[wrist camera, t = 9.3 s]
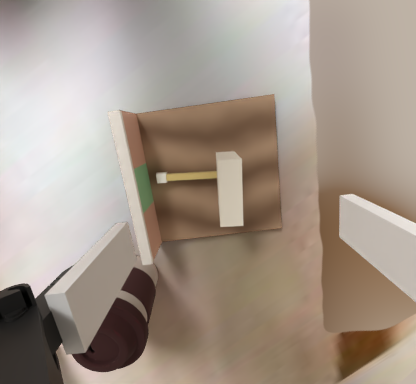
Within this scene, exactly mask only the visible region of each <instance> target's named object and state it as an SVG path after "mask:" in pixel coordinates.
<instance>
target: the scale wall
mask: <svg viewBox="0 0 416 384" xmlns="http://www.w3.org/2000/svg"><path fill="white" fill-rule="evenodd" d="M108 116H109V121H110V125H111V129H112V134H113V138H114V143H115V147H116V151H117V156H118V160H119V164H120V169H121V173H122V178H123V182H124V186H125V191H126V195H127V199H128V204H129V208H130V213H131V217H132V221H133V226H134V230H135V234H136V239H137V243H138V247H139V252H140V256H141V261H142V265H150V264H153V262H154V258H155V256H156V254H157V252H158V249H159V247H160V245H161V243H162V240H161V235H160V230H159V225H158V220H157V215H156V210H155V205H154V200H153V195H152V190H151V185H150V180H149V175H148V170H147V165H146V160H145V155H144V150H143V145H142V140H141V135H140V130H139V125H138V120H137V115H136V114H135V113H130V112H125V111H121V110H117V111H110V112H108Z"/></svg>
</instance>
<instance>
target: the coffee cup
mask: <svg viewBox="0 0 416 384" xmlns="http://www.w3.org/2000/svg"><path fill="white" fill-rule="evenodd" d="M136 258H137V261H136V263H135V265H134V267H133V268H132V270H131V272H130V274H129V276H128V277H127V279H126V281H125V283H124V285H123V286H122V288H121V290H120V292H119V294H118V295H117V297H116V299H115V301H114V302H113V304H112V306H111V308H110V310H109V311H108V313H107V315H106V317H105V319H104V320H103V322H102V324H101V326H100V328H99V329H98V331H97V333H96V335H95V336H94V338H93V340H92V342H91V344H90V345H89V347H88V349H87V351H86V353H78V354H72V356H73V357H74V359H75V360H76V361H77V362H78V363H79V364H80V365H82V366H83V367H85V368H87V369H89V370H92V371H97V372H109V371H113V370H116V369H119V368H123V367H126V366H128V365H130V364H132V363H134V362H135V361H136V360H137V359H138V358H139V357H140V356H141V355H142V353H143V351H144V349H145V346H146V342H147V339H148V323H149V319H150V315H151V311H152V307H153V302H154V298H155V292H156V289H155V288H156V284H157V280H158V272H157V269H156V267H155V265H154V264H150V265H142V261H141V256H136Z"/></svg>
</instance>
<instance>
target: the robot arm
mask: <svg viewBox="0 0 416 384" xmlns="http://www.w3.org/2000/svg"><path fill="white" fill-rule="evenodd" d="M339 225H340V227H339V229H340V230H339V237H340V238H341V239H342V240H344V241H345V242H346V243H347V244H348V245H349V246H351V247H352V248H353V249H354V250H355V251H357V252H358V253H359V254H360V255H361V256H362V257H363V258H365V259H366V260H367V261H368V262H369V263H370V264H372V265H373V266H374V267H375V268H376V269H378V270H379V271H380V272H381V273H382V274H383V275H385V276H386V277H387V278H388V279H389V280H390V281H392V282H393V283H394V284H395V285H396V286H397V287H399V288H400V289H401V290H402V291H403V292H405V293H406V294H407V295H408V296H409V297H410V298H411V299H413V300H414V301H415V302H416V223H414V222H412V221H410V220H407V219H405V218H403V217H401V216H399V215H397V214H395V213H392V212H390V211H388V210H386V209H384V208H382V207H380V206H378V205H375V204H373V203H371V202H369V201H367V200H365V199H363V198H360V197H358V196H356V195H354V194H348V195H340V223H339ZM136 261H137V258H136V254H135V250H134V246H133V242H132V238H131V234H130V229H129V225H128V222H122V223H116V224H115V225H114V226H113V227H112V228H111V229H110V230H109V231H108V232H107V233H106V234H105V235H104V236H103V237H102V238H101V239H100V240H99V241H98V242H97V243H96V244H95V245H94V246H93V247H92V248H91V249H90V250H89V251H88V252H87V253H86V254H85V255H84V256H83V257H82V258H81V259H80V260H79V261H78V262H77V263H76V264H75V265H73V266H71V267H70V268H68V269H67V270H65V271H63V272H62V273H61V274H60V275H59V276H58V277H57V278H56V280H54V281H53V282H52V283H51V284H50V286H48V287H47V288H46V289H45V290H44V291H43V292H42V293H41V294H40V295H39V296H38V297H37V298H36V299H35V298H34V295H33V292H32V290H31V287H30V286H29V284H18V285H14V286H11V287H8V288H6V289H4V290H2V291H0V384H64V383H63V379H62V374H61V370H60V365H59V360H58V357H57V355H56V350H57V349H58V347H59V346H60V345H61V343H62V344H63V347H64V349H65V352H66V355H68V354H78V353H86V351H87V349H88V347H89V345H90V344H91V342H92V340H93V338H94V336H95V335H96V333H97V331H98V329H99V328H100V326H101V324H102V322H103V320H104V319H105V317H106V315H107V313H108V311H109V310H110V308H111V306H112V304H113V302H114V301H115V299H116V297H117V295H118V294H119V292H120V290H121V288H122V286H123V285H124V283H125V281H126V279H127V277H128V276H129V274H130V272H131V270H132V268H133V267H134V265H135V263H136Z"/></svg>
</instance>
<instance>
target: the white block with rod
mask: <svg viewBox="0 0 416 384" xmlns="http://www.w3.org/2000/svg"><path fill="white" fill-rule="evenodd" d="M216 167H217V171H207V172H189V173H172V174H167V172H159V173H157V174H156V178H157V183H167V182H168V181H175V180H193V179H211V178H217V187H218V205H219V217H220V227H232V226H243V187H242V159H241V158H240V157H239V156H238V155H237V154H236V152H235V151H230V152H216Z"/></svg>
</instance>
